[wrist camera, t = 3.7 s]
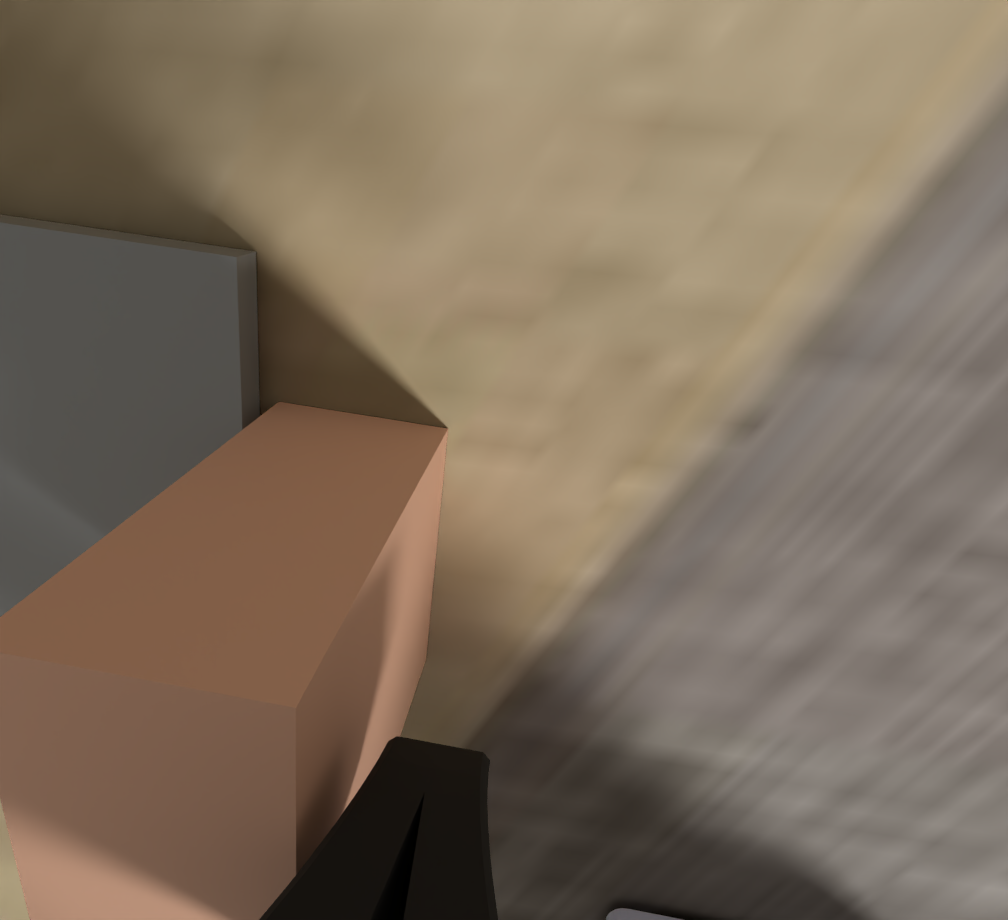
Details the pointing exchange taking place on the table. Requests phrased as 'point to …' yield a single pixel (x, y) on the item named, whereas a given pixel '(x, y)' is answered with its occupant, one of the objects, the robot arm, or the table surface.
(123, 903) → the block
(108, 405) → the board
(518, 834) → the table surface
